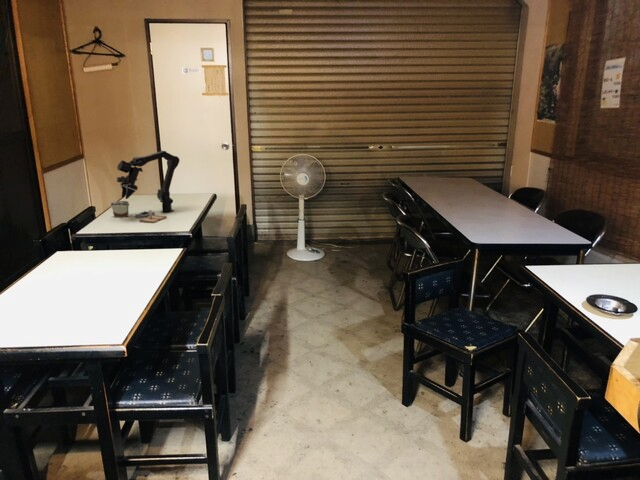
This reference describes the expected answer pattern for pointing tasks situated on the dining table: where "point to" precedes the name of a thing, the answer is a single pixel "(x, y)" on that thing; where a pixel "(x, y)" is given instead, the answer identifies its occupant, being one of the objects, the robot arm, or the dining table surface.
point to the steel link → (143, 214)
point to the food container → (120, 209)
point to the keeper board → (152, 218)
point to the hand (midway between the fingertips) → (124, 198)
